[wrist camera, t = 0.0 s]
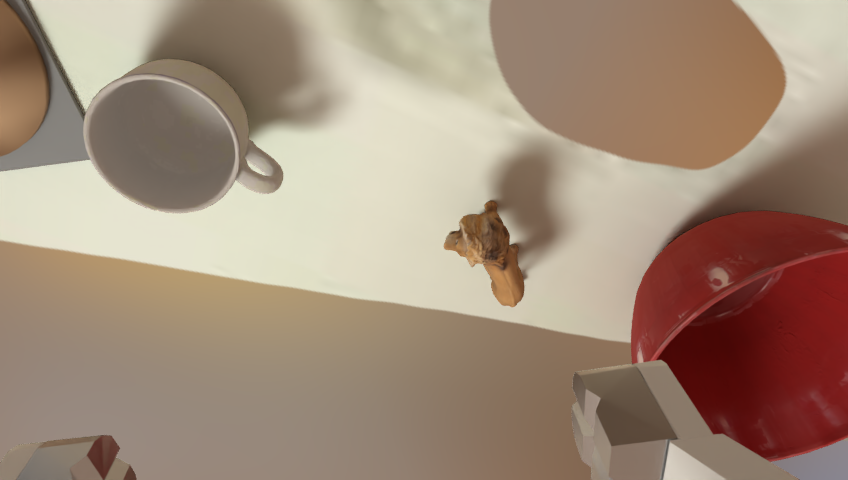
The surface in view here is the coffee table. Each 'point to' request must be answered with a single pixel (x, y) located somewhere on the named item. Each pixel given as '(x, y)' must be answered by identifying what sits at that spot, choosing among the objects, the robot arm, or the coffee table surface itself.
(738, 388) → the mixing bowl
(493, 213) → the lion figurine
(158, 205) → the teacup
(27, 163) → the mat
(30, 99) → the lid
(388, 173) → the coffee table surface
